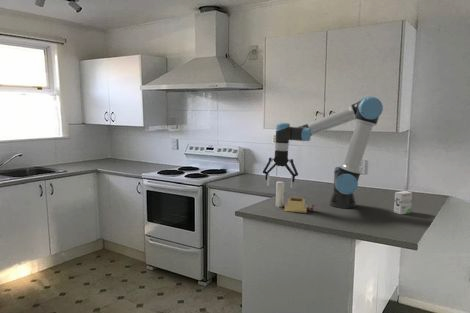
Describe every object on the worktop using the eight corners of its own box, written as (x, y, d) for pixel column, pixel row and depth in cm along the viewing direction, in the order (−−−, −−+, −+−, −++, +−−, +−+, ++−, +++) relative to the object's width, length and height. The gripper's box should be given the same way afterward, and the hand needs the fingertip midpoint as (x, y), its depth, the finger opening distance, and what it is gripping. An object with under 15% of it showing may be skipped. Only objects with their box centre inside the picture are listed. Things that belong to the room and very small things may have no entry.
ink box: (403, 210, 213) (405, 190, 211) (411, 213, 209) (412, 192, 207) (393, 212, 209) (394, 191, 208) (400, 214, 205) (402, 193, 203)
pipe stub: (283, 205, 218) (284, 181, 217) (282, 207, 214) (283, 183, 212) (276, 204, 219) (277, 181, 218) (275, 206, 215) (276, 182, 213)
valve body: (313, 209, 211) (314, 199, 210) (313, 213, 202) (313, 203, 201) (286, 207, 214) (286, 197, 214) (284, 211, 206) (284, 200, 205)
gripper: (304, 150, 213) (301, 187, 216) (261, 148, 219) (259, 183, 222) (303, 152, 206) (300, 189, 209) (258, 149, 212) (257, 185, 215)
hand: (279, 186), depth 215 cm, fingers open, 13 cm apart
